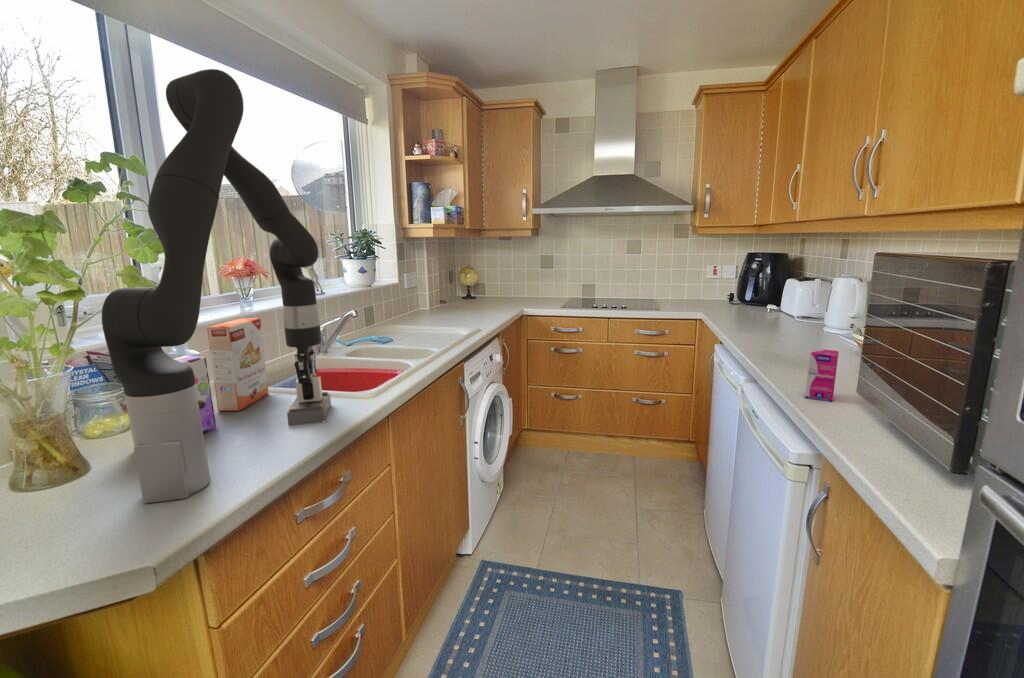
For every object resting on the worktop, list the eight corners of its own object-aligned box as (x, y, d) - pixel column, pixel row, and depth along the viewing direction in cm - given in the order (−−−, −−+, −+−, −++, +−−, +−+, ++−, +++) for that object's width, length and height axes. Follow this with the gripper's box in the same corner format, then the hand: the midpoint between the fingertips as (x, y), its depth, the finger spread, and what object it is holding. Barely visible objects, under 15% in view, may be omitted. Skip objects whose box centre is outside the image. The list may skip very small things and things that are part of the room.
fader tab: (320, 400, 114) (318, 379, 113) (297, 402, 113) (295, 381, 112) (322, 396, 117) (320, 376, 116) (300, 398, 116) (297, 378, 115)
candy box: (155, 454, 94) (140, 372, 91) (133, 450, 96) (118, 370, 93) (217, 428, 107) (206, 355, 104) (198, 425, 109) (186, 353, 106)
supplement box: (804, 398, 118) (808, 352, 116) (806, 392, 123) (810, 347, 121) (832, 402, 115) (838, 355, 113) (833, 395, 120) (838, 350, 117)
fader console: (324, 422, 109) (323, 406, 109) (288, 425, 108) (286, 410, 107) (331, 405, 120) (329, 391, 120) (298, 408, 119) (296, 394, 118)
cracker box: (241, 411, 117) (229, 326, 113) (216, 412, 118) (204, 326, 113) (270, 393, 131) (261, 317, 127) (248, 394, 131) (238, 317, 127)
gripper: (314, 328, 105) (322, 404, 109) (323, 318, 119) (330, 386, 122) (277, 330, 104) (286, 408, 107) (290, 320, 117) (298, 389, 120)
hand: (310, 396), depth 115 cm, fingers closed on fader tab, 3 cm apart
